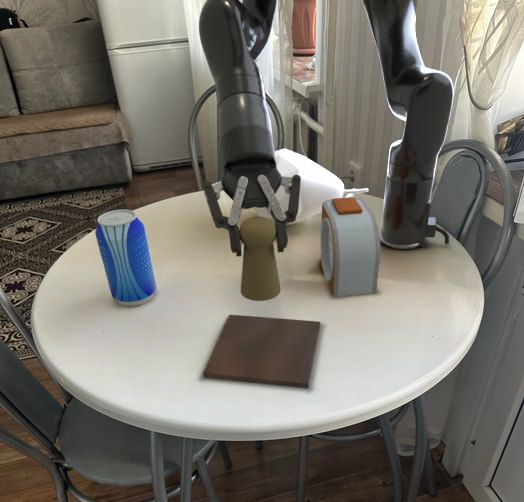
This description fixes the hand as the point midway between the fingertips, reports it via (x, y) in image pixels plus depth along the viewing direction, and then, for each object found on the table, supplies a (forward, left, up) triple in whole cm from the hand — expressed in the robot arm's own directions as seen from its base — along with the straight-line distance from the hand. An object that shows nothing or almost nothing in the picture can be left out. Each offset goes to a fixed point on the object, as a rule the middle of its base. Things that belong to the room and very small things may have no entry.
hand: (260, 252), depth 69 cm
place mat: (0, -1, -18) cm, 18 cm away
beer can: (+28, -14, -18) cm, 36 cm away
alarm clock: (-11, -27, -18) cm, 34 cm away
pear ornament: (0, -52, -18) cm, 55 cm away
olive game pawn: (+1, -2, -7) cm, 8 cm away
